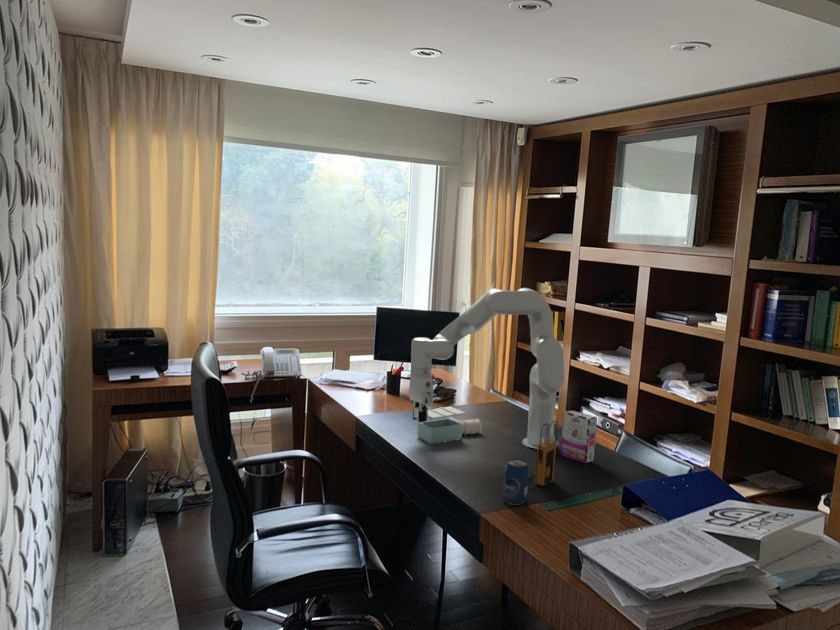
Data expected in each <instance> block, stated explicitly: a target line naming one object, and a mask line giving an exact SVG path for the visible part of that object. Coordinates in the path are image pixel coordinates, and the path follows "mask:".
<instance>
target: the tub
mask: <svg viewBox="0 0 840 630" xmlns="http://www.w3.org/2000/svg"><path fill="white" fill-rule="evenodd" d="M417 424H418V426H417V438H418V439H419V438H421V439H423V440H424V441H423V440H422V441H423V442H425V441H426V442H425V443H427V442H428V443H430V444H432V445H434V444H433V443H438V444H440V443H439V442H444V441H450V442H452V441H451V440H456V441H458V440H457V439H462V438H463V437H462V436H463V434H462V424H461V423H458V422H456V421H454V420H452V419H450V418H442V419H436V420H432V419H430V420H427V421H425V422H419V421H418V422H417ZM421 439H420V440H421ZM428 443H427V444H428ZM444 443H445V442H444ZM430 444H429V445H430Z"/></svg>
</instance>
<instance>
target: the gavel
mask: <svg viewBox="0 0 840 630" xmlns="http://www.w3.org/2000/svg"><path fill="white" fill-rule="evenodd" d="M448 418H450V419H452V420H454V421H456V422H458V423H461V424H462V435H463V434H464V435H463V436H467V434H470V435H473V434H474V435H480V434H481V432H482V430H483V426H482V422H481V420H479V418H475V419H472V418H471V419H466V420H465V419H462V420H461V419H455V418H454V417H448ZM476 433H477V434H476Z"/></svg>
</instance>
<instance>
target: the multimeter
mask: <svg viewBox="0 0 840 630" xmlns="http://www.w3.org/2000/svg"><path fill="white" fill-rule="evenodd" d="M553 422H554V423H556V425H558V422H557V420H554V421H553ZM553 422H552V423H553ZM552 423H551V424H552ZM551 424H550V426H551ZM544 425H547V424H544ZM544 425H543V427H544ZM548 426H549V424H548ZM550 426H549V428H550ZM543 427H542V428H543ZM547 432H548V438H547V435H546V441H545V442H544V443H542V444H541V435H540V444H539V445H538V449H537V450H536V463H535V464H536V465H535V466H536V467H535V474H536V475H535V479H534V480H535V481H534V484H535V483H536V484H535V488H537V486H538V485H537V484H540V485H545V484H546V483H548V482H550V481H552V480H553V481H554V473H555V463H556V449H557V447H556V441H558V439H557V438H558V431H555V432H556V434H555V435H556V436H555V442H553V441H549V429H548V427H547ZM541 433H542V429H541ZM553 481H552V482H553ZM550 483H551V482H550ZM548 484H549V483H548ZM546 485H547V484H546ZM546 485H545V486H546ZM535 488H534V489H535Z"/></svg>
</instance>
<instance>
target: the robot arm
mask: <svg viewBox="0 0 840 630" xmlns="http://www.w3.org/2000/svg"><path fill="white" fill-rule="evenodd" d="M497 315H508V316H509V315H512V316H513V315H516V316H517V315H527V317H528V320H529V329H530V351H531V353H532V355H533V356H534V357H535V358H536V363H534V365H533V366H532V367H531V369H530V372H529V402H528V403H529V404H528V405H529V406H528V415H527V416H528V419H527V430H526V431H527V435H526V437H525V438H523V439H522V445H523V446H524V445H525V446H524V447H526V446H527V447H526V448H528V447H530V448H529V449H531V448H535V449H538V445H539V444H540V435H541V444H542V443H544V442H545V441H546V435H547V438H548V432H547V427H548V429H549V441H553V442H555V441H556V448H557V446H559V445H560V442H559V441H558V440H556V436H555V435H554V428H555V427H554V425H555V422H553V421H555V413H556V401H557V400H556V399H557V393H558V392H560V390H561V389H562V388H563V386H564V384H565V360H564V359H565V358H564V356H565V355H564V349H563V347H562V346H563V345H562V344H561V342H560V341H559V340H558V339H557V338H555V328H554V318H553V313H552V309H551V306H550V305H549V303H548V301H546V299H545V298H544V297H543V295H541V294H540V293H539V292H538V291H536V290H534V289H531V288H528V287H521V288H518V290H504V289H503V290H502V289H500V288H491V289H489V290H487V291H486V292H485V293H484V294H482V295H481V296H480V297H479V298H478V299H477V300H476V301H475V302H474V303H473V304H472V305H470V307H468V308H467V309H466V310H465V311H464V312H463V313H462V314H460V315H459V316H458V317H456V318H455V319H454V320H453V321H451V322H450V323H449V324H447V325H446V326H445V327H444V328H443V329H442V330H440V331H439V332H438V334H436V335H435V336H434V338H433V339H430V338H429V337H420V336H418V337H413V339H411V345H410V347H411V351H410V354H411V355H410V377H409V387H408V389H409V390H408V394H409V395H408V396H409V401H410V402H411V404H412V419H413V420H415V421H416V420H418V422H425V421H428V420H427V419H428V418H427V411H428V410H429V409H431V408H432V403H433V402H434V384H433V383H434V382H433V376H432V360H433V359H434V360H435V359H436V360H442V361H445V360H448V359H450V358H451V357H452V356H453V355H454V351H455V349H454V346H455V345H456V344H458V343H459V342H460V341H461V340H463V339H464V338H465V337H467V336H468V335H471V334H475V333H476V332H478V331H479V332H480V330H481V329H482V328H483V327H484V326H486V325H487V324H488V323H490V321H491V320H492V319H493V318H494V317H495V316H497ZM416 407H420V411H419V419H417V418H415V417H414V408H416ZM552 422H553V423H552ZM551 423H552V424H551ZM544 424H547V425H544ZM548 424H549V426H550V424H551V426H550V428H549V426H548ZM543 425H544V427H543ZM542 427H543V428H542ZM541 429H542V433H541ZM535 449H534V450H535Z"/></svg>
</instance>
